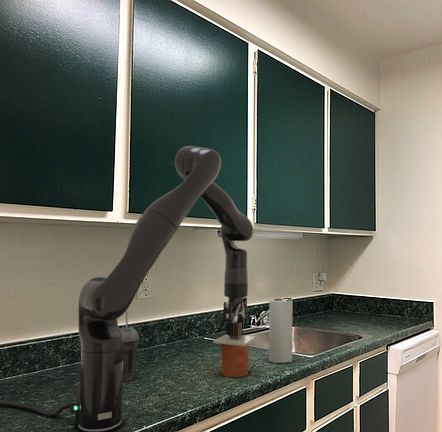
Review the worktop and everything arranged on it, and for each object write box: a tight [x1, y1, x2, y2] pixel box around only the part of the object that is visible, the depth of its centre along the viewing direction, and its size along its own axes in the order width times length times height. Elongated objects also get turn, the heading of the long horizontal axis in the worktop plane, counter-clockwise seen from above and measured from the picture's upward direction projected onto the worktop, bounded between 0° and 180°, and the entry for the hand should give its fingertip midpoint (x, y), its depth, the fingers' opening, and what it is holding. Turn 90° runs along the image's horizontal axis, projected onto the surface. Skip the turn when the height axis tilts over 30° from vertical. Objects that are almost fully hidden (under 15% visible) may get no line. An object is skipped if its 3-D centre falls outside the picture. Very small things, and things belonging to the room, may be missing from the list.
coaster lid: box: [212, 321, 257, 346], centre depth 143 cm, size 10×10×6 cm
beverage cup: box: [119, 310, 140, 382], centre depth 136 cm, size 7×7×20 cm
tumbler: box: [220, 343, 250, 378], centre depth 143 cm, size 9×9×10 cm
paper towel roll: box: [268, 298, 294, 364], centre depth 157 cm, size 7×6×21 cm
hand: (235, 332), depth 143 cm, fingers open, 8 cm apart
